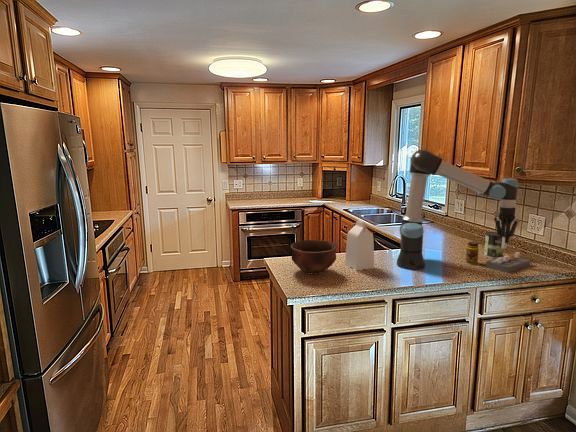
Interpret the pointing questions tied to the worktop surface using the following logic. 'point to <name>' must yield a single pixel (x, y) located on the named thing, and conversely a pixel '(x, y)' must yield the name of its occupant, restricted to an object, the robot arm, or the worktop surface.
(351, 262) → the milk
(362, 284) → the worktop surface
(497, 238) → the coffee can
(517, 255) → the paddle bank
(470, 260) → the condiment
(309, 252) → the bowl
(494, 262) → the switch panel
